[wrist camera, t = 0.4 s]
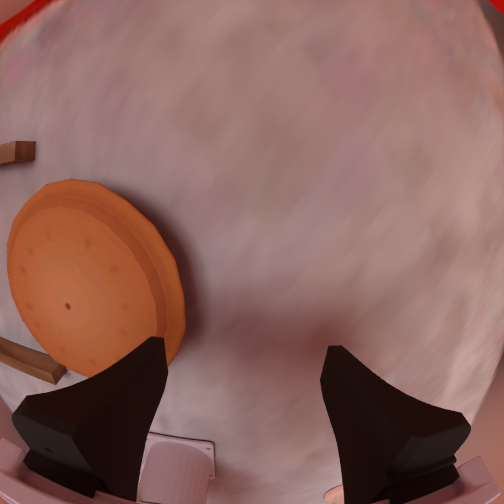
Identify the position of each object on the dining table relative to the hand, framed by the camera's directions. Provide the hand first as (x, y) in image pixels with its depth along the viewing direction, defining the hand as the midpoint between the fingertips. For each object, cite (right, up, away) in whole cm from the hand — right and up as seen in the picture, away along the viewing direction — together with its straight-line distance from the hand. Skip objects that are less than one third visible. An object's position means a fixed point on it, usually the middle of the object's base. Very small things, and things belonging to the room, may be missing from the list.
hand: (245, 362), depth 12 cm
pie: (-11, +3, +8) cm, 14 cm away
